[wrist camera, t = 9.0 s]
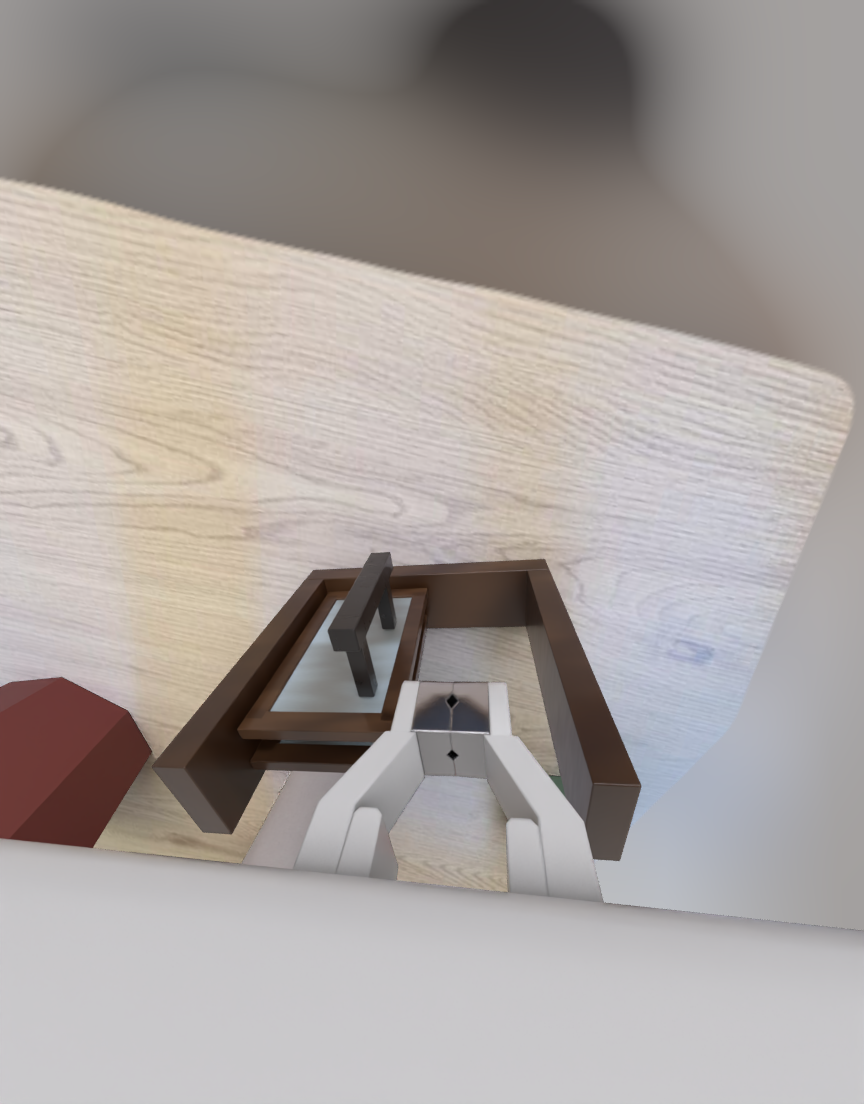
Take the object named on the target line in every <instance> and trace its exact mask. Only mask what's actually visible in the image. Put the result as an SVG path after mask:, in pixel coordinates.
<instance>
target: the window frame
mask: <svg viewBox="0 0 864 1104" xmlns="http://www.w3.org/2000/svg"><path fill="white" fill-rule="evenodd" d="M361 570H362V568H350V569H330V570H313V571H312V573H311V574H310V575H309V576H308V577H307V579H306V580H305V581H304V582H303V583H302V584H301V586H300V587H299V588H298V589H297V590H296V592H295V593H294V594H293V595H292V597H291V598H290V599H289V600H288V601H287V603H286V604H285V605H284V606H283V607H282V609H281V610H280V611H279V612H278V614H277V615H276V616H275V617H274V618H273V620H272V621H271V622H270V623H269V624H268V626H267V627H266V628H265V629H264V630H263V632H262V633H261V634H260V635H259V637H258V638H257V639H256V640H255V641H254V643H253V644H252V645H251V646H250V647H249V649H248V650H247V651H246V652H245V653H244V655H243V656H242V657H241V658H240V660H239V661H238V662H237V663H236V664H235V666H234V667H233V668H232V669H231V670H230V672H229V673H228V674H227V675H226V677H225V678H224V679H223V680H222V681H221V683H220V684H219V685H218V686H217V687H216V689H215V690H214V691H213V692H212V693H211V695H210V696H209V697H208V698H207V700H206V701H205V702H204V703H203V704H202V706H201V707H200V708H199V709H198V710H197V712H196V713H195V714H194V715H193V716H192V718H191V719H190V720H189V721H188V723H187V724H186V725H185V726H184V727H183V729H182V730H181V731H180V732H179V733H178V735H177V736H176V737H175V738H174V740H173V741H172V742H171V743H170V744H169V746H168V747H167V748H166V749H165V750H164V752H163V753H162V754H161V755H160V756H159V758H158V759H157V760H156V761H155V763H154V764H153V765H152V768H153V770H154V771H155V772H156V773H157V775H158V776H159V777H160V779H161V780H162V781H163V782H164V784H165V785H166V786H167V787H168V789H169V790H170V791H171V792H172V794H173V795H174V796H175V798H176V799H177V800H178V801H179V803H180V804H181V805H182V806H183V808H184V809H185V810H186V811H187V813H188V814H189V815H190V817H191V818H192V819H193V820H194V822H195V823H196V824H197V825H198V827H199V828H200V829H201V830H202V832H206V833H220V834H232V833H233V831H234V829H235V828H236V826H237V824H238V822H239V820H240V818H241V816H242V814H243V812H244V810H245V808H246V807H247V805H248V803H249V801H250V799H251V797H252V795H253V793H254V791H255V789H256V787H257V786H258V784H259V782H260V780H261V778H262V776H263V774H264V772H265V770H282V771H307V772H332V773H346V772H347V771H348V770H349V768H350V767H351V766H352V765H353V764H354V763H355V762H356V761H357V760H358V759H359V758H360V757H361V756H362V755H363V754H364V753H365V752H366V751H367V750H368V749H369V748H370V747H371V745H372V744H373V743H374V742H344V741H305V740H267V739H242V738H241V736H240V734H239V732H238V730H237V729H238V727H239V726H240V724H241V723H242V721H243V720H244V718H245V717H246V715H247V714H248V712H249V711H250V710H251V708H252V707H253V705H254V704H255V702H256V701H257V699H258V698H259V696H260V695H261V693H262V692H263V690H264V689H265V687H266V686H267V684H268V683H269V681H270V680H271V678H272V677H273V675H274V674H275V672H276V671H277V669H278V668H279V666H280V665H281V663H282V662H283V660H284V659H285V657H286V656H287V654H288V653H289V651H290V650H291V648H292V647H293V645H294V644H295V642H296V641H297V639H298V638H299V636H300V635H301V633H302V632H303V630H304V629H305V627H306V626H307V624H308V623H309V621H310V620H311V618H312V617H313V615H314V614H315V612H316V611H317V609H318V608H319V606H320V605H321V603H322V602H323V600H324V598H325V597H326V595H327V594H328V592H337V591H350V589H351V588H352V586H353V584H354V582H355V581H356V579H357V577H358V575H359V574H360V572H361ZM389 582H390V587H391V589H415V588H427V591H428V599H427V604H426V609H425V614H424V619H423V624H422V630H421V635H420V640H419V645H418V650H417V656H416V661H415V666H414V671H413V676H412V681H418V678H419V672H420V666H421V660H422V654H423V648H424V643H425V637H426V631H427V628H471V627H517V626H526V628H527V633H528V637H529V641H530V646H531V650H532V654H533V659H534V663H535V667H536V672H537V676H538V680H539V684H540V689H541V693H542V697H543V702H544V706H545V710H546V715H547V719H548V723H549V728H550V732H551V736H552V740H553V745H554V749H555V753H556V758H557V762H558V766H559V771H560V775H561V779H562V784H563V788H564V792H565V796H566V799H567V800H568V802H569V803H570V804H571V805H572V807H573V808H574V809H575V811H576V812H577V813H578V815H579V816H580V817H581V818H582V820H583V821H584V824H585V828H586V832H587V837H588V841H589V845H590V849H591V853H592V857H593V859H598V860H613V861H619V860H620V859H621V855H622V852H623V848H624V845H625V842H626V838H627V835H628V831H629V828H630V824H631V821H632V817H633V814H634V810H635V807H636V804H637V800H638V797H639V793H640V790H641V784H640V781H639V779H638V777H637V774H636V772H635V770H634V767H633V765H632V763H631V760H630V758H629V756H628V753H627V751H626V748H625V746H624V744H623V741H622V739H621V737H620V734H619V732H618V730H617V727H616V725H615V723H614V720H613V718H612V716H611V713H610V711H609V709H608V706H607V704H606V702H605V699H604V697H603V694H602V692H601V690H600V687H599V685H598V683H597V680H596V678H595V676H594V673H593V671H592V669H591V666H590V664H589V662H588V659H587V657H586V655H585V652H584V650H583V648H582V645H581V643H580V640H579V638H578V636H577V633H576V631H575V629H574V626H573V624H572V622H571V619H570V617H569V615H568V612H567V610H566V608H565V605H564V603H563V601H562V598H561V596H560V594H559V591H558V589H557V586H556V584H555V582H554V579H553V577H552V575H551V572H550V570H549V568H548V566H547V563H546V561H545V559H538V560H517V561H497V562H476V563H455V564H434V565H413V566H393V571H392V573H391V576H390V578H389Z"/></svg>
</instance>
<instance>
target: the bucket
mask: <svg viewBox="0 0 864 1104" xmlns="http://www.w3.org/2000/svg"><path fill="white" fill-rule="evenodd" d="M151 752H152V751H151V749H150V748H149V746H148V744H147V743H146V741H145V739H144V737H143V736H142V734H141V732H140V731H139V729H138V727H137V726H136V724H135V722H134V721H133V719H132V717H131V715H130V714H129V712H128V711H127V710H125V709H123V708H121V707H119V706H117V705H115V704H113V703H111V702H109V701H107V700H105V699H103V698H101V697H99V696H97V695H95V694H93V693H92V692H90V691H88V690H86V689H84V688H82V687H80V686H78V685H76V684H74V683H72V682H70V681H68V680H66V679H64V678H62V677H59V678H49V679H39V680H28V681H18V682H10V683H8V684H6V685H4V686H2V687H0V838H2V839H12V840H21V841H31V842H40V843H50V844H59V845H69V846H78V847H88V848H93V846H94V845H95V843H96V842H97V840H98V838H99V837H100V835H101V833H102V832H103V830H104V829H105V827H106V825H107V824H108V822H109V820H110V819H111V817H112V816H113V814H114V812H115V811H116V809H117V807H118V806H119V804H120V803H121V801H122V799H123V798H124V796H125V794H126V793H127V791H128V790H129V788H130V786H131V785H132V783H133V781H134V780H135V778H136V777H137V775H138V773H139V772H140V770H141V768H142V767H143V765H144V764H145V762H146V760H147V759H148V757H149V755H150V754H151Z"/></svg>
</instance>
